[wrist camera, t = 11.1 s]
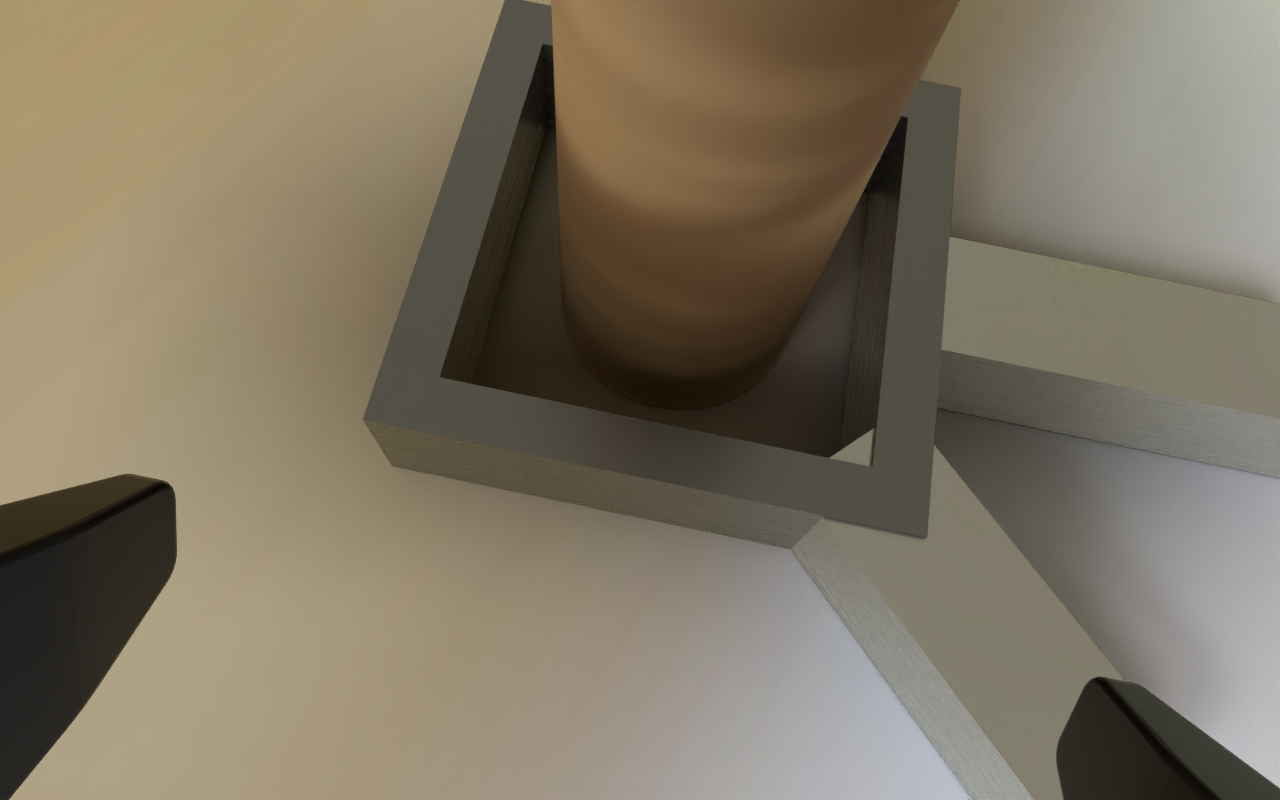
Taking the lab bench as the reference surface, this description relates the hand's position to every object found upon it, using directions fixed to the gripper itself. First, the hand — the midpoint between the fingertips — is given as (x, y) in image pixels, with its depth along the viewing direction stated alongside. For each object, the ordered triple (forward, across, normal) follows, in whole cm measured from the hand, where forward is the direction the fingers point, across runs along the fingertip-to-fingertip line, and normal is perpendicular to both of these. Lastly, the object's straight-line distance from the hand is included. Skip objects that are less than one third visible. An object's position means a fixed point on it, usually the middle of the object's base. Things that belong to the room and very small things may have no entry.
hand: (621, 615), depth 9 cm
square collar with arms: (+9, -4, +2) cm, 10 cm away
